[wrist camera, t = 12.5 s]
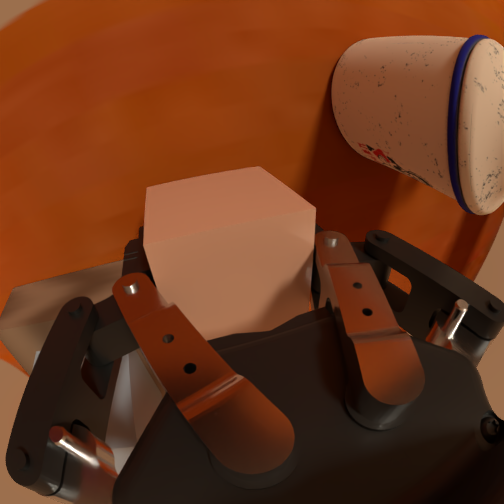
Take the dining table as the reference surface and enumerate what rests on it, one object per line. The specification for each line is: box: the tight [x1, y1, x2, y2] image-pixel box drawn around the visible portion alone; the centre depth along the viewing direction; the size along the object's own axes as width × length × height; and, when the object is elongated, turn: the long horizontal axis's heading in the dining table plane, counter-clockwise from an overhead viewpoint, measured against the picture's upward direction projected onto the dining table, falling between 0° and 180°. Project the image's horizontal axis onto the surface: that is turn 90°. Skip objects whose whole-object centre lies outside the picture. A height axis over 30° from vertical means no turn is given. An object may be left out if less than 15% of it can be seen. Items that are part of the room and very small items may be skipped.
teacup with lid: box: [331, 35, 504, 215], centre depth 10 cm, size 12×9×12 cm
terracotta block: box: [143, 166, 316, 341], centre depth 11 cm, size 5×5×5 cm
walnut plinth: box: [0, 260, 166, 398], centre depth 15 cm, size 10×10×4 cm
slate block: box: [33, 350, 162, 475], centre depth 11 cm, size 6×6×6 cm
